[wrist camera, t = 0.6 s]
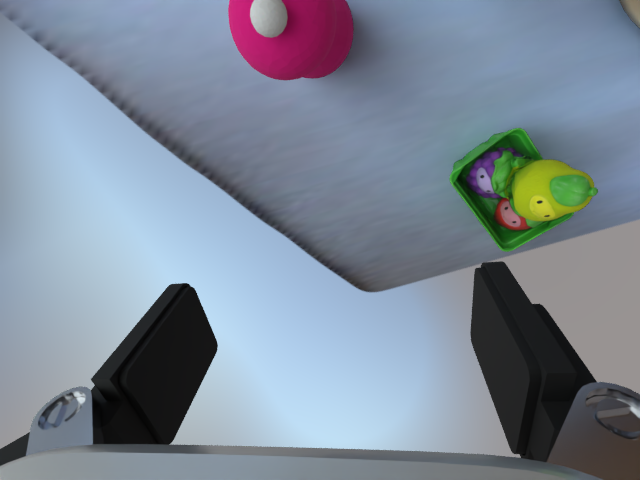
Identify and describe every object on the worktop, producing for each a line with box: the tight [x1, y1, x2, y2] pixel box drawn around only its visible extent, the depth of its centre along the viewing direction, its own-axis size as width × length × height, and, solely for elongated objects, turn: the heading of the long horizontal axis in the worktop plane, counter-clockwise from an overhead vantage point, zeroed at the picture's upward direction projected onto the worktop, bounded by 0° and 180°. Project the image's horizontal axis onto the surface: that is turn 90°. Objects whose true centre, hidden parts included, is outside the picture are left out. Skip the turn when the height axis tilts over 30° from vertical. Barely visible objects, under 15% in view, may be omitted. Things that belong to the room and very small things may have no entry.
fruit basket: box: [450, 128, 598, 252], centre depth 32 cm, size 11×9×11 cm
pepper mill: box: [228, 0, 354, 80], centre depth 24 cm, size 7×7×20 cm
